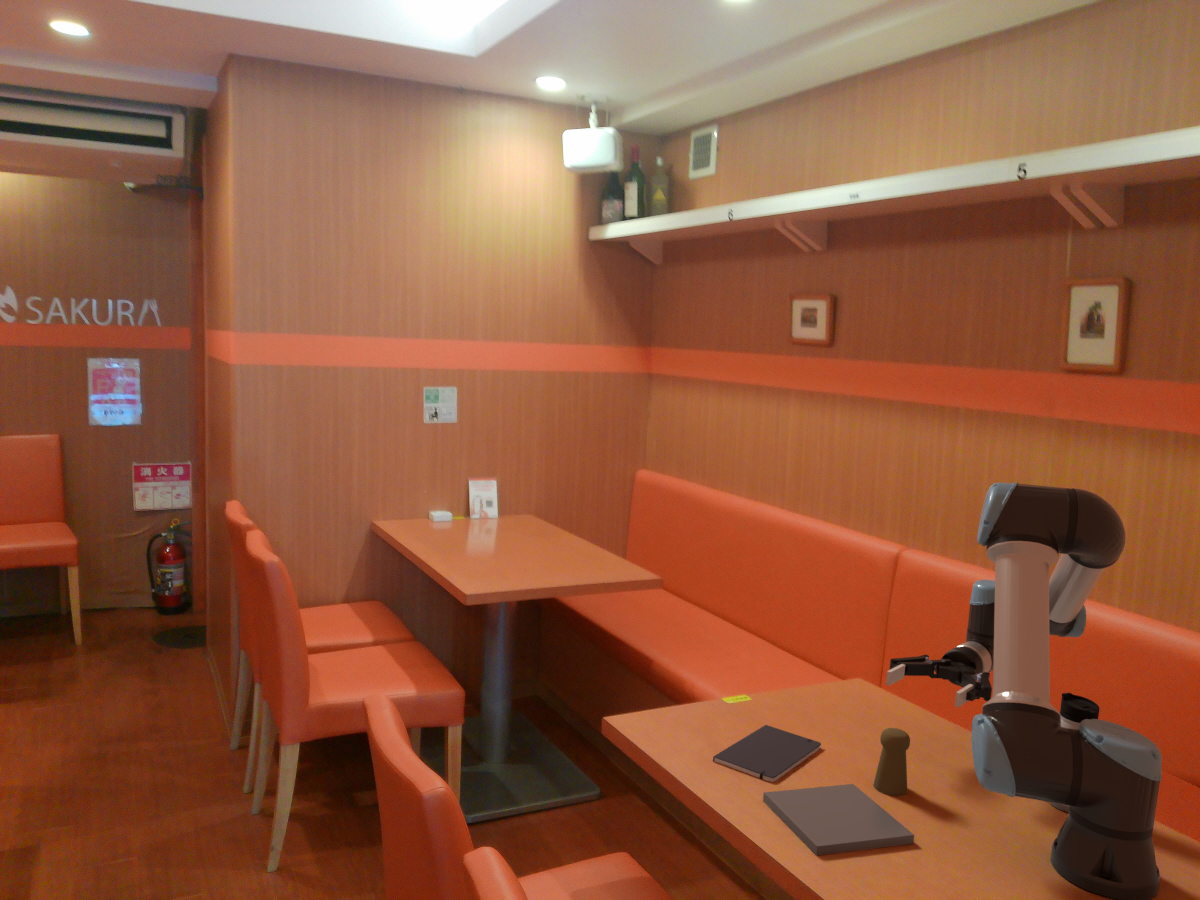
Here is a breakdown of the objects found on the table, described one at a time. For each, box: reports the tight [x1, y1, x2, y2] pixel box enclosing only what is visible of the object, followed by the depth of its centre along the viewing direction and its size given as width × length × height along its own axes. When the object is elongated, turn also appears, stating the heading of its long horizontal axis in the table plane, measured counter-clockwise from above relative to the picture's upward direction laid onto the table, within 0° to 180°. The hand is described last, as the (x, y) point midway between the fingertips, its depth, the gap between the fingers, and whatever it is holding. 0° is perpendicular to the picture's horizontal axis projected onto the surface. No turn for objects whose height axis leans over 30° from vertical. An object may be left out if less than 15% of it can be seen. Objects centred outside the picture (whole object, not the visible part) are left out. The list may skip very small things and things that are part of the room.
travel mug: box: [1049, 692, 1101, 814], centre depth 171 cm, size 6×7×20 cm
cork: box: [872, 727, 911, 797], centre depth 174 cm, size 6×6×11 cm
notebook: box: [712, 724, 822, 783], centre depth 185 cm, size 13×2×21 cm
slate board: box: [762, 783, 915, 856], centre depth 160 cm, size 18×18×2 cm
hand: (921, 688), depth 180 cm, fingers open, 13 cm apart
